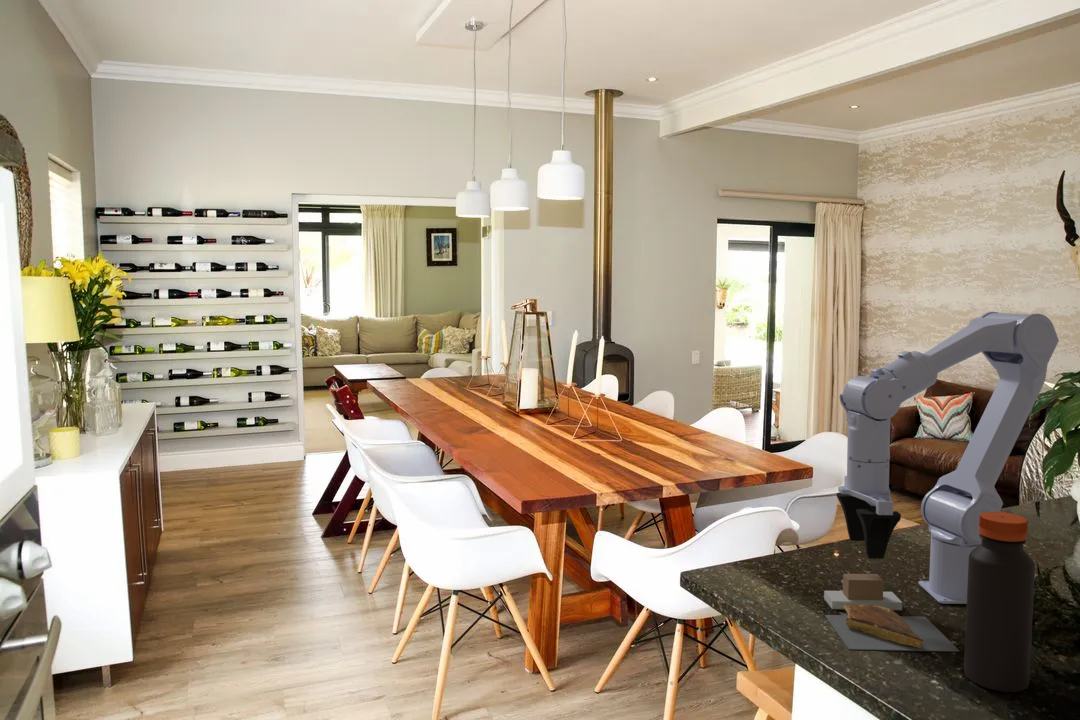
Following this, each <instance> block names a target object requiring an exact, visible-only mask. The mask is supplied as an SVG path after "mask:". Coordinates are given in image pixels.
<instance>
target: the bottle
mask: <svg viewBox="0 0 1080 720" xmlns="http://www.w3.org/2000/svg"><path fill="white" fill-rule="evenodd" d="M1028 523H1029V521H1028V519H1027V518H1025V517H1024V516H1021V515H1018V514H1015V513H1011V512H1003V511H1000V512H984V513H981V514H980V518H979V533H980V534H979V536H980V538H982V542H981V544H980V545H979V546H977V547H976V548H975V549H973V550H972V551H971V553H970V554H969V562H968V585H967V604H966V611H965V613H966V614H965V632H964V633H965V634H964V635H965V636H964V637H965V638H964V653H963V654H964V657H963V671H964V675H965V676H966V677H967V678H968V679H969V680H970V681H971V682H973V683H974V684H976V685H978V686H981V687H982V688H986V689H989V690H992V691H995V692H1002V693H1018V692H1023V691H1024V690H1026V689H1027V688H1028V687H1029V685H1030V684H1029V683H1030V672H1031V671H1030V669H1031V653H1032V652H1031V650H1032V635H1033V634H1032V632H1033V615H1034V614H1033V611H1034V592H1035V574H1036V573H1035V572H1036V564H1035V561H1034V560H1033V559H1032V558H1031V556H1030V555H1029V554H1028V553H1027V552H1026V551H1025V550H1024V545H1026V544H1027V539H1028V527H1029V526H1028Z"/></svg>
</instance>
